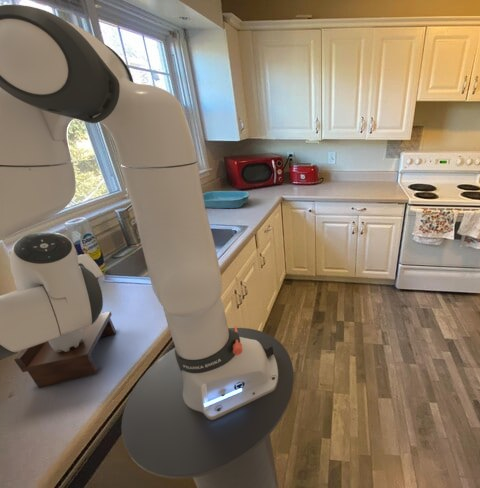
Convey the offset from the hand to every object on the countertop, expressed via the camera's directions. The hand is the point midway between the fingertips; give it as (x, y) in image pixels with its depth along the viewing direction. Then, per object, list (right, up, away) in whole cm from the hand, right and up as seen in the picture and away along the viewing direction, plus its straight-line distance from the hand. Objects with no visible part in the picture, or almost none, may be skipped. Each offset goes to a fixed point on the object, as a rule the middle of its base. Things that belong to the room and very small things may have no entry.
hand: (50, 305), depth 66 cm
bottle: (0, -11, +5) cm, 12 cm away
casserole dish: (-6, +42, +132) cm, 139 cm away
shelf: (-2, -16, +11) cm, 20 cm away
